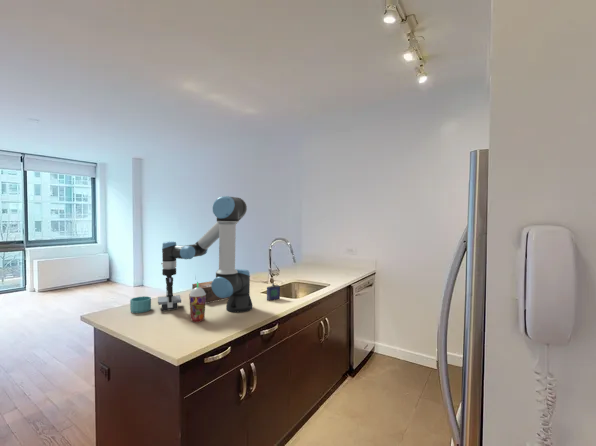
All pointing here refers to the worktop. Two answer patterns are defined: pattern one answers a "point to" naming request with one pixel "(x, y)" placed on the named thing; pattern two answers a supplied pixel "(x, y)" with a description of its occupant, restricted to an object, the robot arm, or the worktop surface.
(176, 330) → the worktop surface
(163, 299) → the grey flat square slab
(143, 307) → the bowl
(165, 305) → the dark grey square block
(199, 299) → the smoothie
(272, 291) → the blue box
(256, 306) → the worktop surface
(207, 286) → the tissue box cover
